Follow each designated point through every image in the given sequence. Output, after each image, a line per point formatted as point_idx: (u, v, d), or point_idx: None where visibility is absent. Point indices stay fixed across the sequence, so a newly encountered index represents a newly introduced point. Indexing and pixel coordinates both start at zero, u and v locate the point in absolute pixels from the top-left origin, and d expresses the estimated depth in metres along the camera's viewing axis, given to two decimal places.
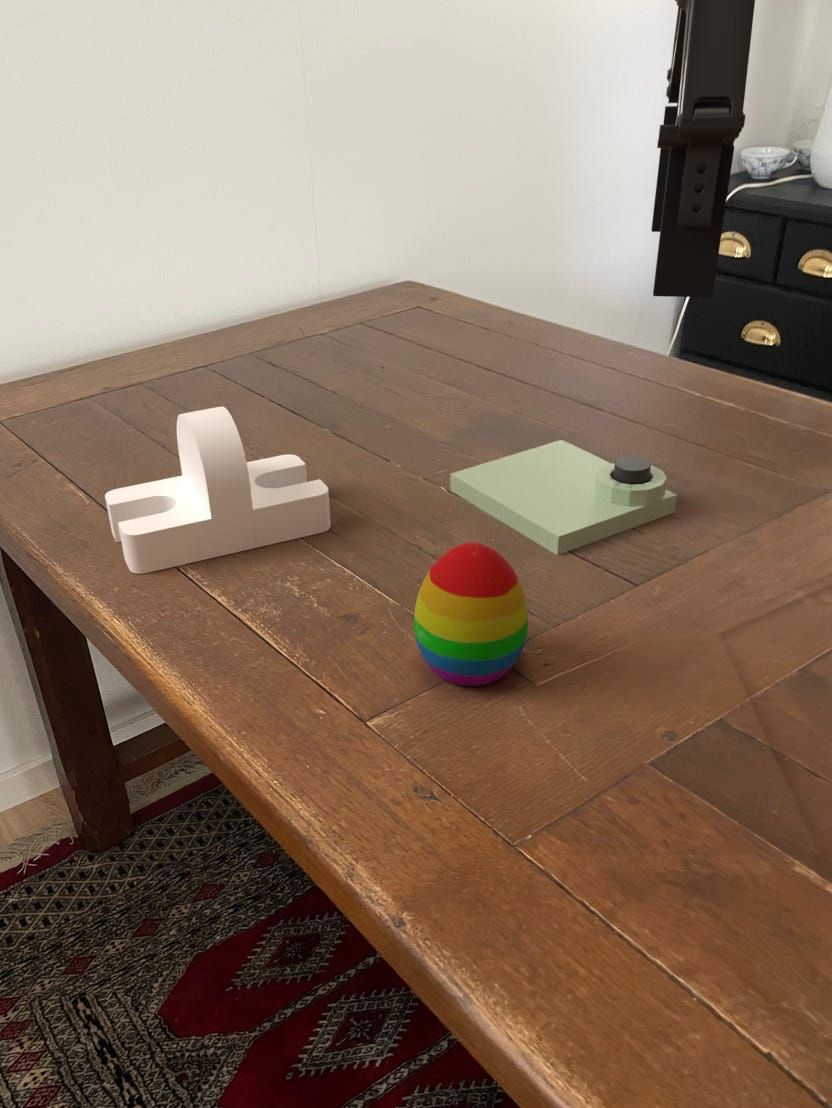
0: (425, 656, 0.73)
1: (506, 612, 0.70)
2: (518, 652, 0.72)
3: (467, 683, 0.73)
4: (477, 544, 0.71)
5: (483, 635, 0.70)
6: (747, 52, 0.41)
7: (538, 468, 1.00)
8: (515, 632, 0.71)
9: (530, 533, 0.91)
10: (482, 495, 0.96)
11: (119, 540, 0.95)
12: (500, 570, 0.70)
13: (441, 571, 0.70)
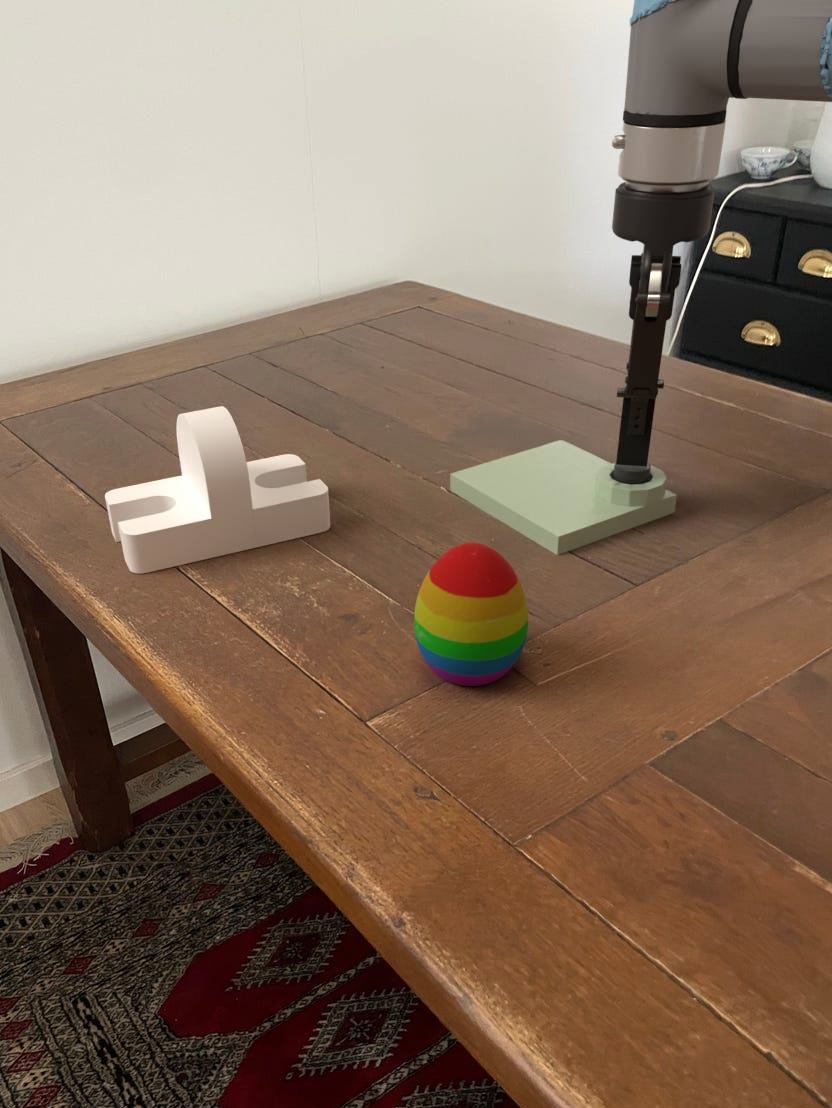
0: (425, 656, 0.73)
1: (506, 612, 0.70)
2: (518, 652, 0.72)
3: (467, 683, 0.73)
4: (477, 544, 0.71)
5: (483, 635, 0.70)
6: (658, 370, 0.84)
7: (538, 468, 1.00)
8: (515, 632, 0.71)
9: (530, 533, 0.91)
10: (482, 495, 0.96)
11: (119, 540, 0.95)
12: (500, 570, 0.70)
13: (441, 570, 0.70)
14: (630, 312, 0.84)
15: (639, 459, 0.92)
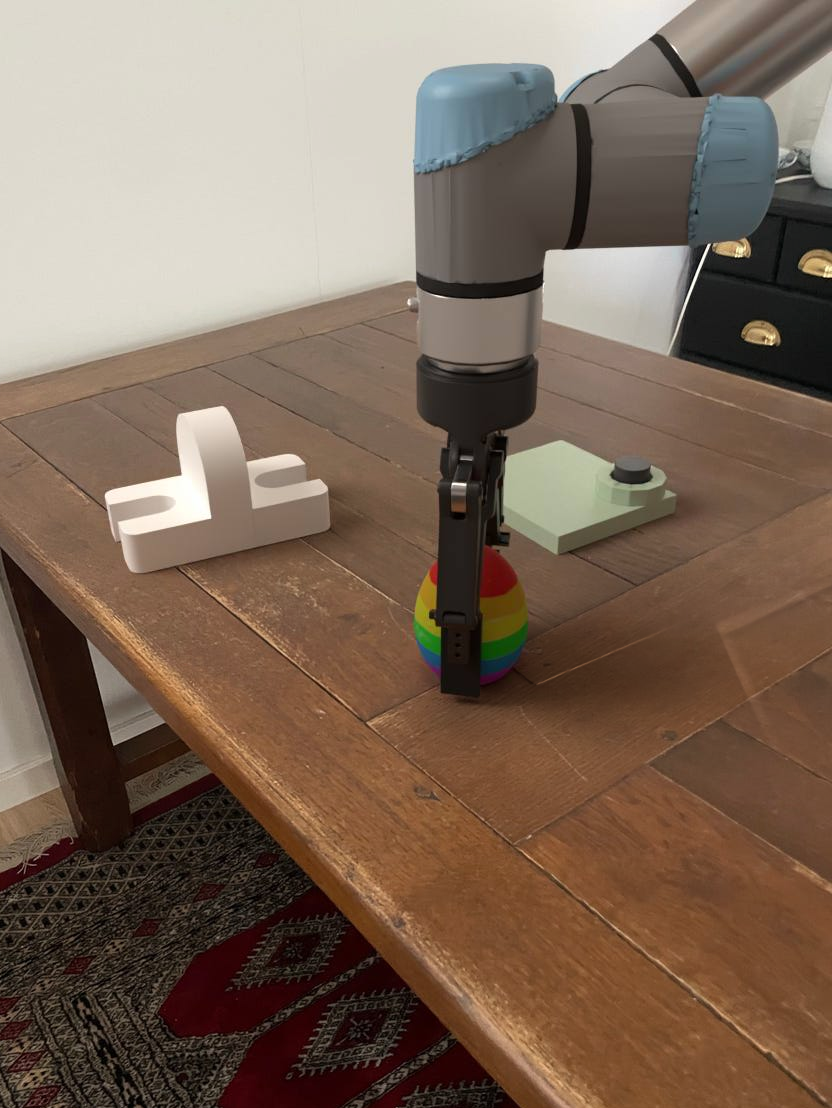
0: (425, 656, 0.73)
1: (506, 612, 0.70)
2: (518, 652, 0.72)
3: None
4: None
5: (483, 635, 0.70)
6: (473, 588, 0.64)
7: (538, 468, 1.00)
8: (515, 631, 0.71)
9: (530, 533, 0.91)
10: None
11: (119, 540, 0.95)
12: (500, 570, 0.70)
13: None
14: None
15: (468, 689, 0.71)
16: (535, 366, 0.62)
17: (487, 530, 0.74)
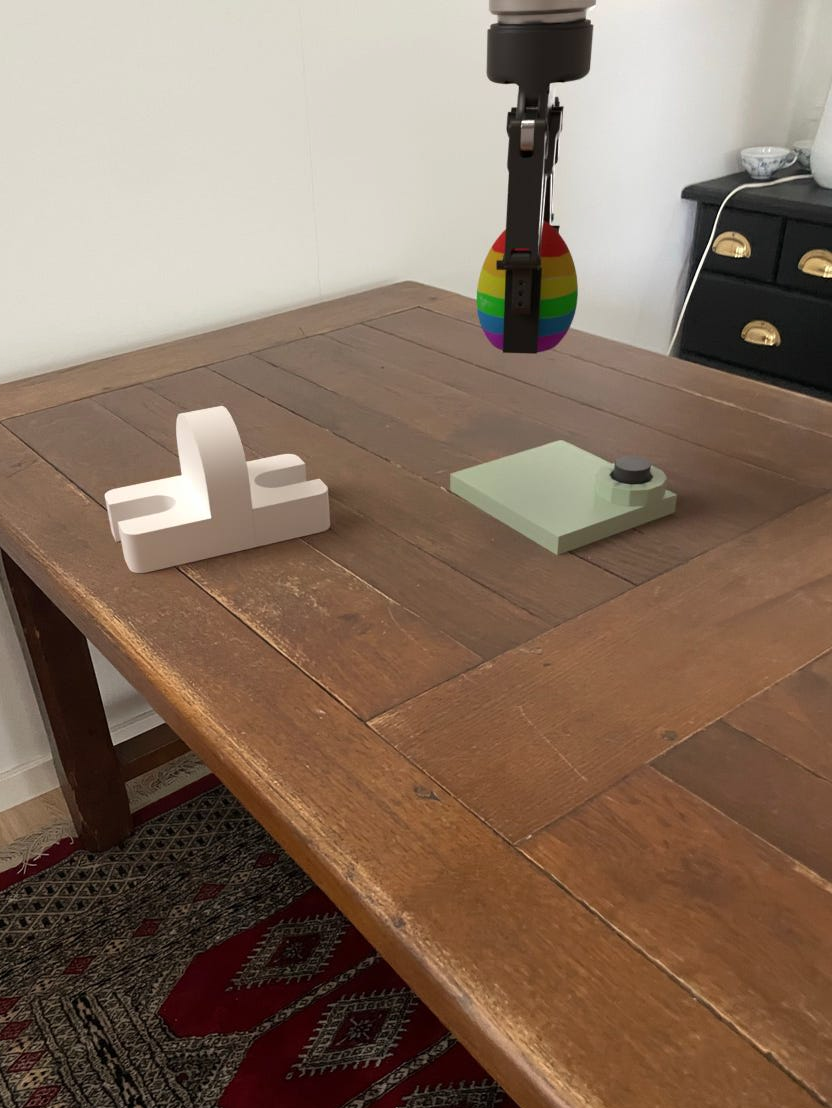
0: (487, 325, 0.83)
1: (560, 273, 0.80)
2: (570, 318, 0.83)
3: None
4: None
5: (541, 292, 0.80)
6: (538, 223, 0.74)
7: (538, 468, 1.00)
8: (568, 294, 0.81)
9: (530, 533, 0.91)
10: (482, 495, 0.96)
11: (119, 540, 0.95)
12: (555, 236, 0.80)
13: (503, 239, 0.81)
14: (508, 163, 0.76)
15: (528, 345, 0.81)
16: (591, 25, 0.72)
17: None
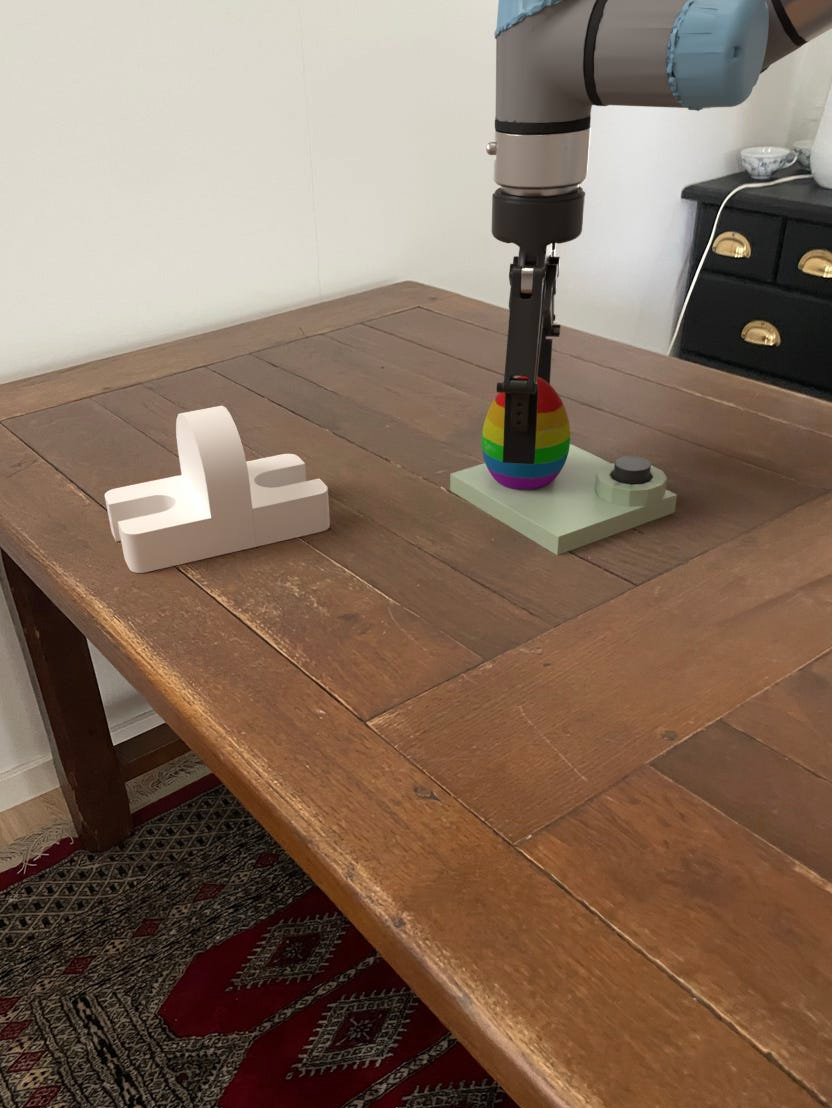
0: (491, 465, 0.95)
1: (555, 425, 0.92)
2: (563, 461, 0.94)
3: (523, 486, 0.95)
4: None
5: (537, 442, 0.92)
6: (535, 354, 0.82)
7: None
8: (561, 442, 0.93)
9: (530, 533, 0.91)
10: (482, 495, 0.96)
11: (119, 539, 0.95)
12: (550, 393, 0.92)
13: None
14: (510, 304, 0.85)
15: (525, 457, 0.89)
16: (583, 194, 0.83)
17: (543, 326, 0.96)
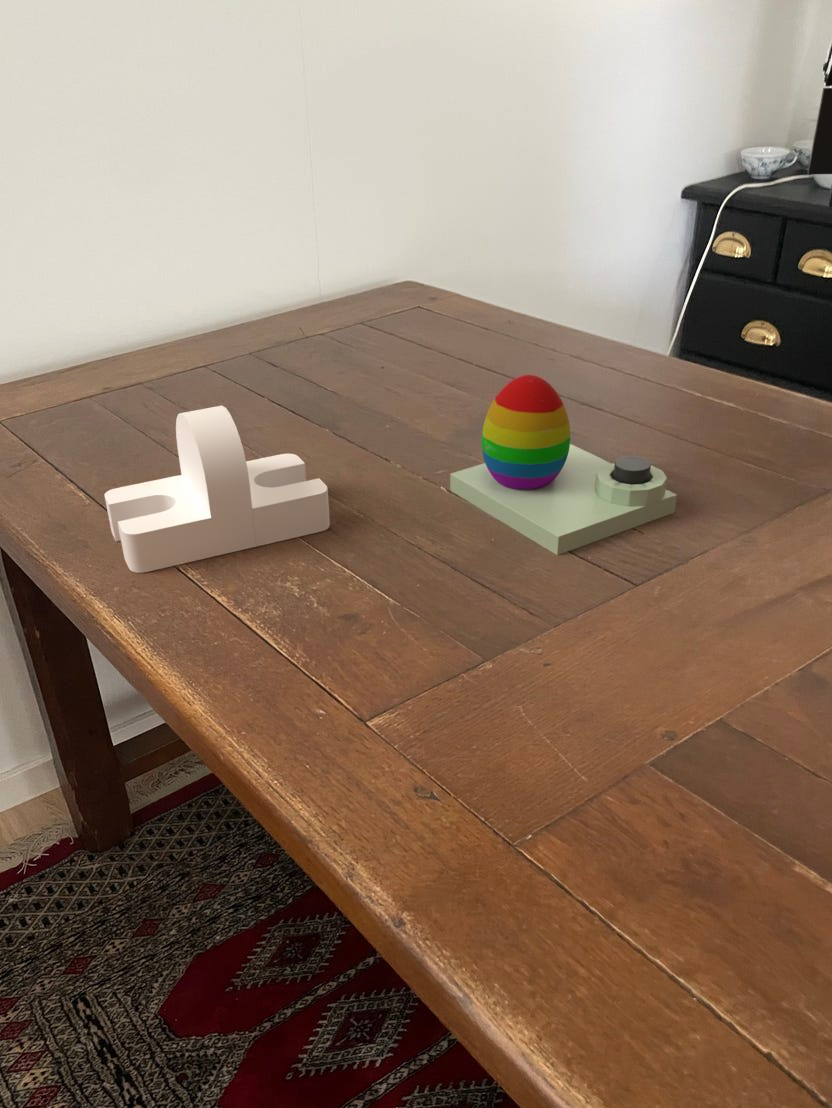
0: (491, 465, 0.95)
1: (555, 425, 0.92)
2: (563, 461, 0.94)
3: (523, 486, 0.95)
4: (532, 375, 0.93)
5: (537, 442, 0.92)
6: None
7: None
8: (561, 442, 0.93)
9: (530, 533, 0.91)
10: (482, 495, 0.96)
11: (119, 539, 0.95)
12: (550, 393, 0.92)
13: (505, 395, 0.92)
14: None
15: None
16: None
17: None
